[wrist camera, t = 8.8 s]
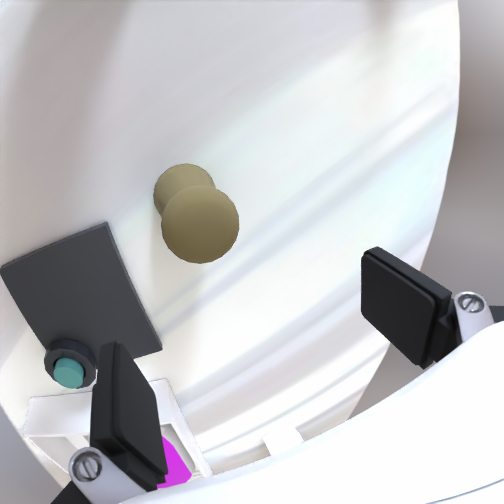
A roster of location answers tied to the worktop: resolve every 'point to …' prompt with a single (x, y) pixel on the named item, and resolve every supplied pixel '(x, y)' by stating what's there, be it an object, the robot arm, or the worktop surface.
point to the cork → (195, 214)
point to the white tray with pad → (78, 432)
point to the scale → (80, 300)
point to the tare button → (68, 372)
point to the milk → (282, 439)
